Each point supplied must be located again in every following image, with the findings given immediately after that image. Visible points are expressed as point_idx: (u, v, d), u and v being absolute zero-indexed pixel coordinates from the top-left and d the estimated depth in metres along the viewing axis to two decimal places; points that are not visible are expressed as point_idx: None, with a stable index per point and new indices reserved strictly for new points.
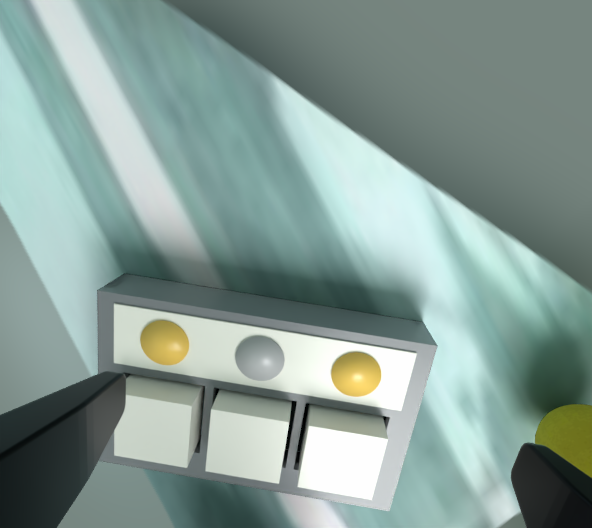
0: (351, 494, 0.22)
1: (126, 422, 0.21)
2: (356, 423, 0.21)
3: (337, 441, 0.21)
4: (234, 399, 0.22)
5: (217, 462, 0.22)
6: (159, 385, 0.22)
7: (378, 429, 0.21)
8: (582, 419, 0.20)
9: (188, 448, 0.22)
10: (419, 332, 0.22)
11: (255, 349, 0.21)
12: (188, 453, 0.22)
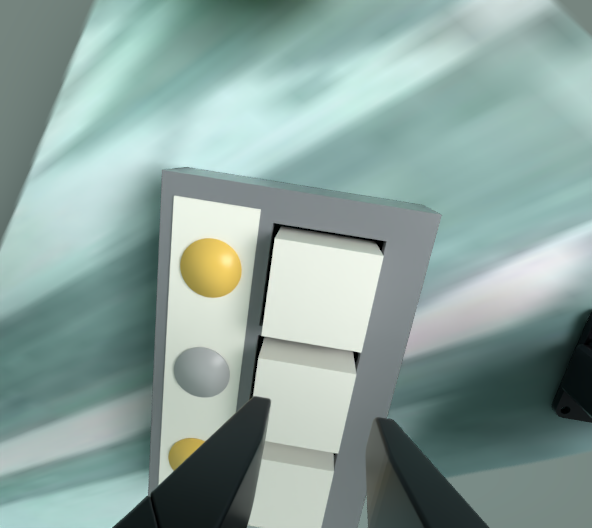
0: (373, 284, 0.15)
1: (272, 519, 0.19)
2: None
3: (283, 302, 0.16)
4: None
5: (324, 439, 0.18)
6: None
7: None
8: None
9: (306, 466, 0.18)
10: None
11: (191, 376, 0.19)
12: (314, 466, 0.18)
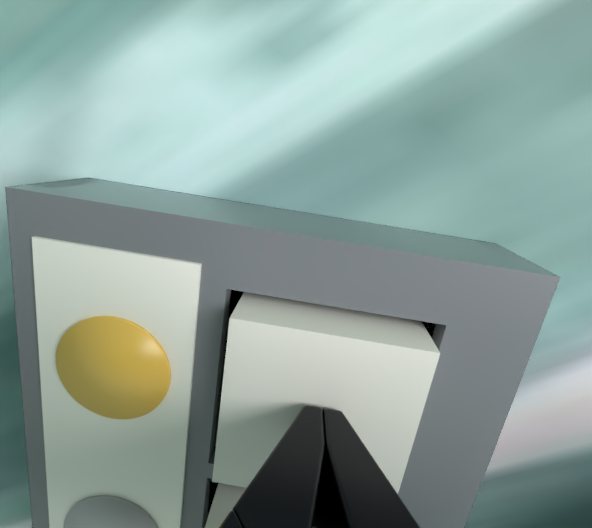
0: (418, 401, 0.08)
1: None
2: None
3: (249, 430, 0.09)
4: None
5: None
6: None
7: None
8: None
9: None
10: None
11: None
12: None
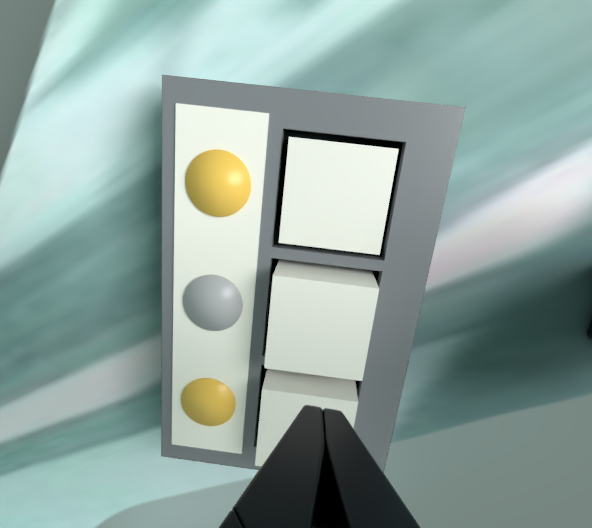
0: (389, 179, 0.15)
1: None
2: None
3: (299, 205, 0.16)
4: None
5: (346, 365, 0.16)
6: None
7: None
8: None
9: (328, 397, 0.17)
10: None
11: (201, 307, 0.18)
12: (336, 397, 0.17)
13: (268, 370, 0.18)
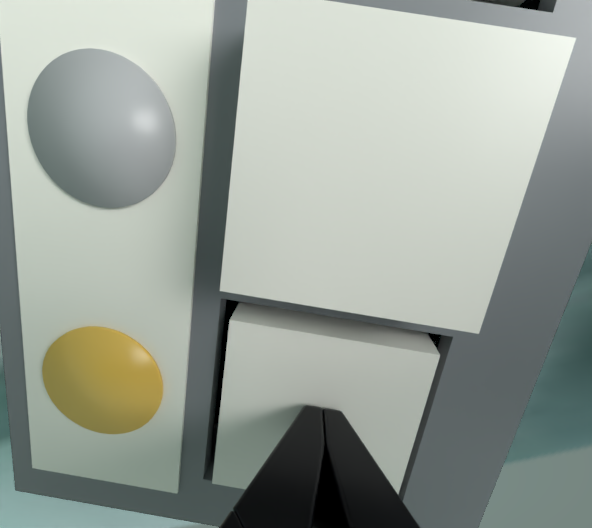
0: None
1: None
2: None
3: None
4: None
5: (442, 289, 0.06)
6: None
7: None
8: None
9: (373, 343, 0.08)
10: None
11: (76, 146, 0.07)
12: (392, 345, 0.08)
13: None
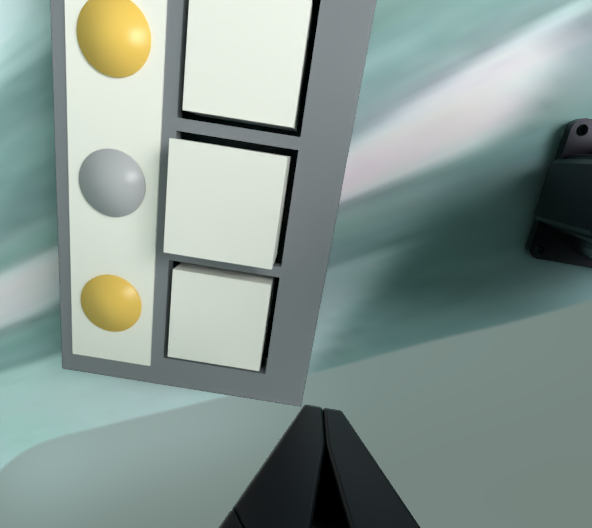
0: (302, 35, 0.14)
1: (207, 349, 0.17)
2: None
3: (204, 64, 0.14)
4: None
5: (254, 250, 0.15)
6: None
7: None
8: None
9: (240, 279, 0.17)
10: None
11: (100, 189, 0.16)
12: (249, 280, 0.17)
13: None
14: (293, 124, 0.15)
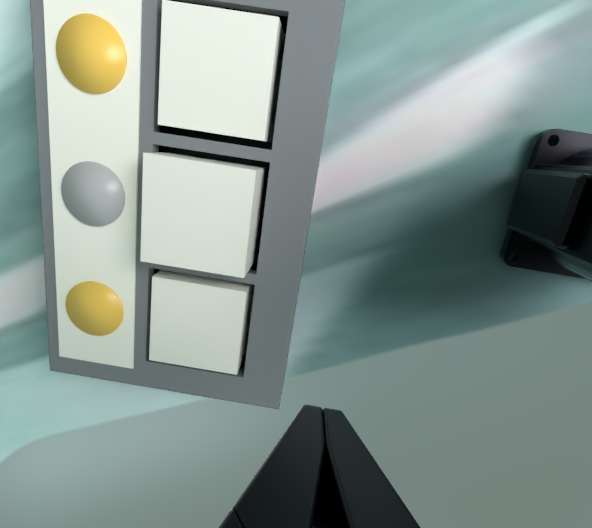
0: (271, 53, 0.14)
1: (187, 353, 0.18)
2: None
3: (177, 81, 0.15)
4: None
5: (226, 260, 0.15)
6: None
7: None
8: None
9: (217, 287, 0.17)
10: None
11: (82, 200, 0.16)
12: (226, 287, 0.17)
13: None
14: (264, 138, 0.15)
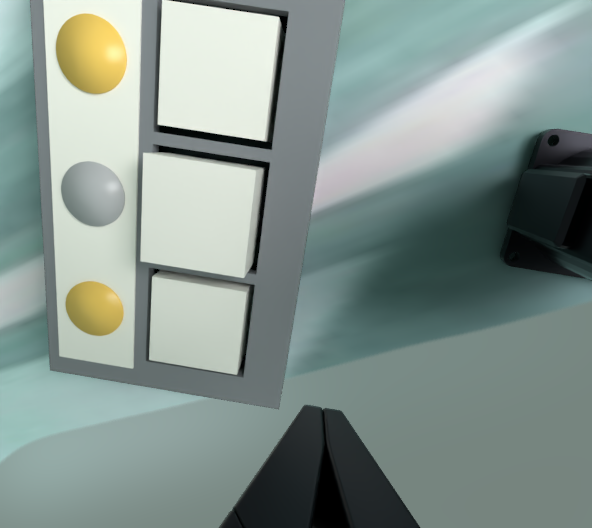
0: (271, 53, 0.14)
1: (187, 353, 0.18)
2: None
3: (177, 81, 0.15)
4: None
5: (226, 260, 0.15)
6: None
7: None
8: None
9: (217, 287, 0.17)
10: None
11: (82, 200, 0.16)
12: (226, 287, 0.17)
13: None
14: (264, 138, 0.15)
